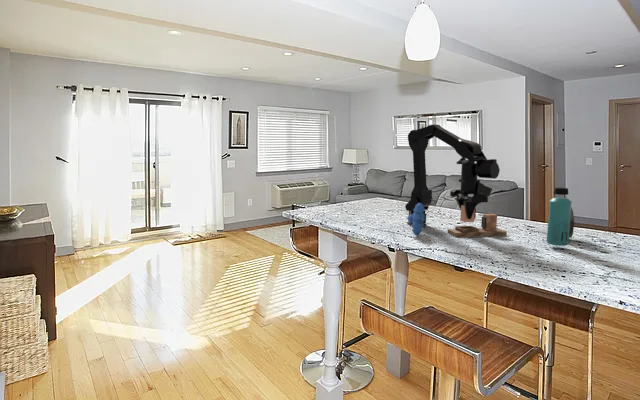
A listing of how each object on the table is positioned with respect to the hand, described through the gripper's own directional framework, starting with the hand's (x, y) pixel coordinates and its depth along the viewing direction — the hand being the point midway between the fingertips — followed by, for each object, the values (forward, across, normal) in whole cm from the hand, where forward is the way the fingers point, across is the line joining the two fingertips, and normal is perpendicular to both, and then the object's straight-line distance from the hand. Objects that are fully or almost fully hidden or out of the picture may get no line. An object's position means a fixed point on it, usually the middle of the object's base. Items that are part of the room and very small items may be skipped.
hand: (467, 218), depth 156 cm
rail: (+6, 0, -4) cm, 7 cm away
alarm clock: (+6, -12, -30) cm, 33 cm away
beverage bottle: (+6, -23, -20) cm, 31 cm away
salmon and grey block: (+1, 0, 0) cm, 1 cm away
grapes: (+6, +3, +19) cm, 20 cm away
